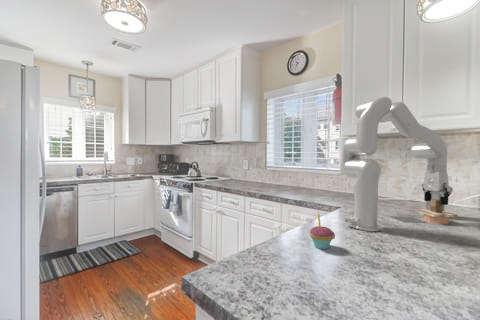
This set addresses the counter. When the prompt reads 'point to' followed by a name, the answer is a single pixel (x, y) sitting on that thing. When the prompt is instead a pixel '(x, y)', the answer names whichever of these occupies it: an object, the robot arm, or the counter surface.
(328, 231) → the cupcake
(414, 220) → the mat
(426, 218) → the bowl
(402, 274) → the counter surface
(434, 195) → the coffee box
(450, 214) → the lid
